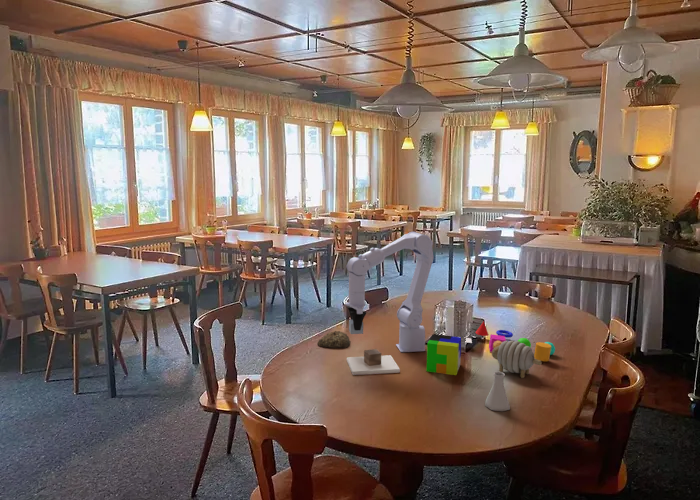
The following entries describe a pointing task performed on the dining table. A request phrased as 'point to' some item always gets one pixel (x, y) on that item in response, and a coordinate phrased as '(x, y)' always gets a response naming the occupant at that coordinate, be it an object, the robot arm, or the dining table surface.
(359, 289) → the robot arm
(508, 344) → the toy sheep
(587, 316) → the dining table surface
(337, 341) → the bread roll
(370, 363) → the walnut block
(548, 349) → the shape set
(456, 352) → the puzzle toy
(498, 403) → the flask
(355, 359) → the baseplate
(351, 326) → the slate block
